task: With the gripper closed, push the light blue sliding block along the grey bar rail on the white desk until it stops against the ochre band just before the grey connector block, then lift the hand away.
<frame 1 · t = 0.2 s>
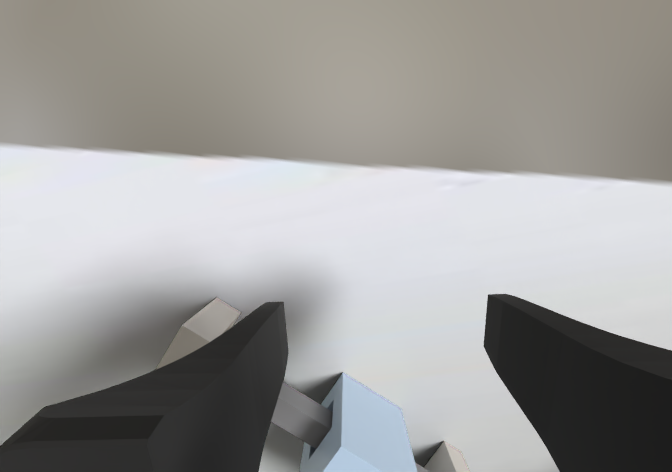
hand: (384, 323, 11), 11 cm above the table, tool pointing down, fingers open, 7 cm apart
light blue sliding block: (355, 453, 20), point 3 cm above the table, slide at 0.0 cm
grey bar rail: (319, 394, 23), on the table
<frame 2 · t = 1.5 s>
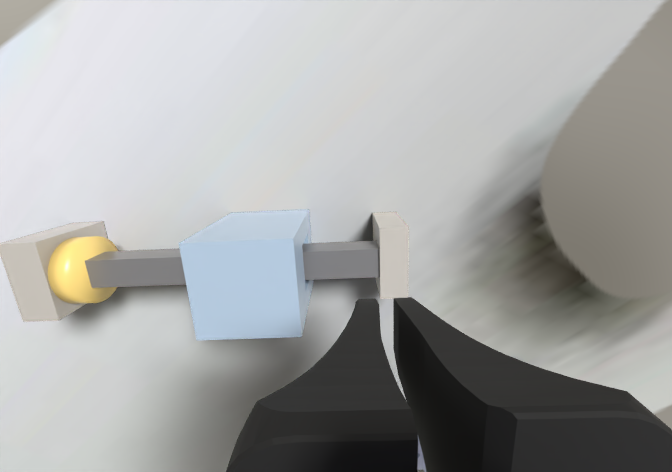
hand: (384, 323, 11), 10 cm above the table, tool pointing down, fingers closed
light blue sliding block: (261, 265, 18), point 3 cm above the table, slide at 0.0 cm
grey bar rail: (228, 248, 21), on the table
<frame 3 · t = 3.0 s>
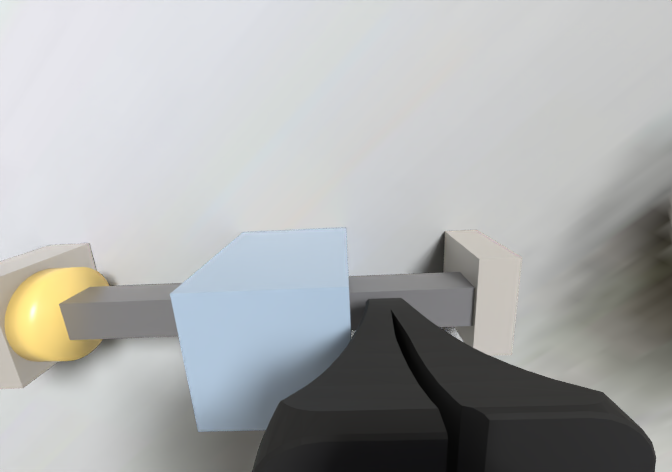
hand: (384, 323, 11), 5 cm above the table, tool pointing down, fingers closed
light blue sliding block: (287, 309, 13), point 3 cm above the table, slide at 0.7 cm, touching gripper
grey bar rail: (252, 278, 16), on the table
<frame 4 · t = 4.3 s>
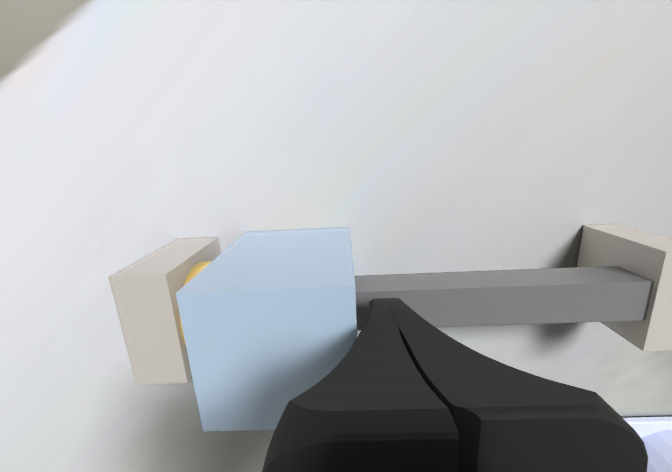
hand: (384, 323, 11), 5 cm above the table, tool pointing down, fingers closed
light blue sliding block: (291, 308, 13), point 3 cm above the table, slide at 7.0 cm, touching grey bar rail, gripper
grey bar rail: (381, 272, 16), on the table
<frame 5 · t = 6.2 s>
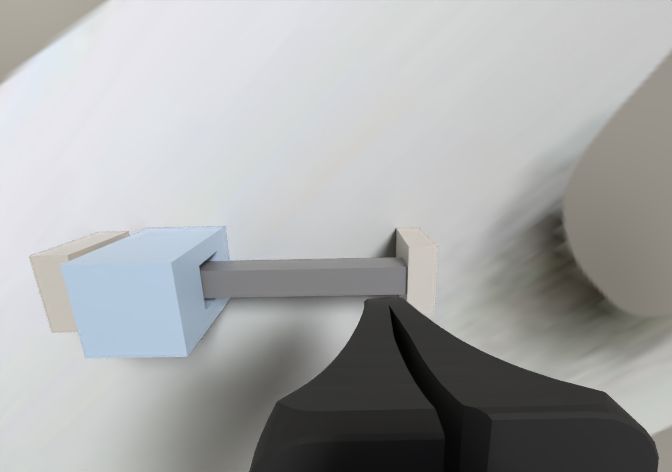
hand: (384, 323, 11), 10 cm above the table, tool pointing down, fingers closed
light blue sliding block: (165, 282, 18), point 3 cm above the table, slide at 7.0 cm, touching grey bar rail
grey bar rail: (252, 260, 21), on the table
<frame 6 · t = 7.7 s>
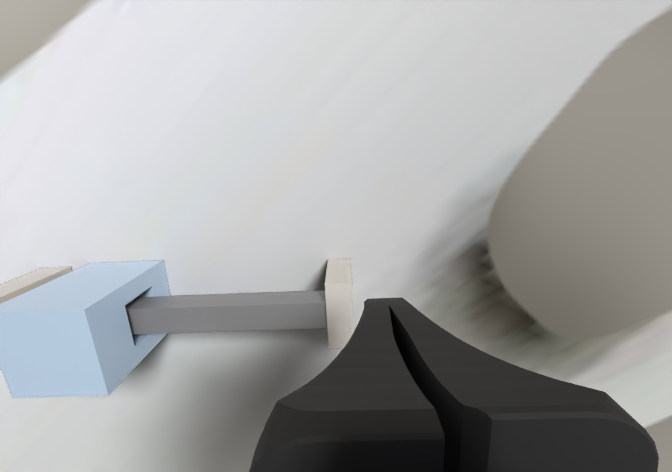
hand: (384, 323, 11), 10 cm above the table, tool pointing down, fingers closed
light blue sliding block: (98, 319, 19), point 3 cm above the table, slide at 7.0 cm, touching grey bar rail
grey bar rail: (191, 292, 22), on the table
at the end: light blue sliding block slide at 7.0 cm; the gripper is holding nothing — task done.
